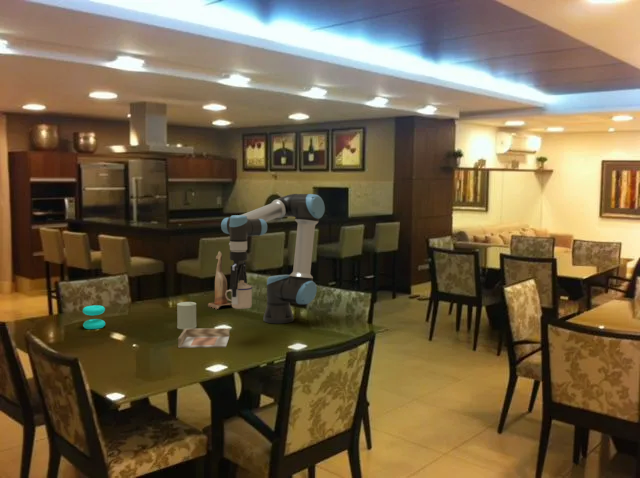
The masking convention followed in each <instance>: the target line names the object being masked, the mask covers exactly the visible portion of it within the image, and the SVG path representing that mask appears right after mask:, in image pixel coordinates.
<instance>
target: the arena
mask: <svg viewBox="0 0 640 478" xmlns="http://www.w3.org/2000/svg"><path fill="white" fill-rule="evenodd" d="M229 339H230V328H226V327H225V328H224V327H223V328H221V327H220V328H216V327H215V328H194V329H182V332H181V333H180V335H179V336H178V338H177V340H178V341H177V344H178V345H177V346H178V347H177V348H180V349H181V348H185V349H188V348H189V349H190V348H195V349H196V348H227V345H228V342H229Z"/></svg>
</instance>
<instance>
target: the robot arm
mask: <svg viewBox="0 0 640 478" xmlns="http://www.w3.org/2000/svg"><path fill="white" fill-rule="evenodd" d="M325 211H326V207H325V203H324V200H323V198H322V197H321V196H320V195H318V194H314V193H313V194H312V193H291V194H287V195H285V196H281V197H279V198H276V199H274V200H273V201H271V203H269V204H266V205H264V206H261V207H257V208H256V209H253V210H251V211H248V212H245V213H242V214H239V215H238V214H237V215H236V214H235V215H231V216H230V217H224V218H223V219H222V220H221V224H220V227H221V228H220V229H221V231H222V232H223V233H224V234H227V235H229V243H228V246H229V250H230V252H229V260H230V261H232V262H233V264H232V265H230V278H229V289H228V290H232V291H231V299H232V301H231V303H232V304H236V305H238V289H237V287H238V283H240V282H239V281H240V280H244V283H247V284H248V280H247V262H246V261H247V260H248V252H247V250H248V237H257V236H258V237H260V236H264V235H265V234H266V233H267V231H268V224H267V222H269V221H272V220H274V219H282V218H287V217H289V218H290V217H291V218H292V217H294V221H295V222H296V223H297V228H296V238H295V246H294V247H295V248H294V258H293V259H294V260H293V269H292V272H291V273H290V274H278V275H271V276H269V277H267V280H266V307H265V311H264V314H263V322H265V323H268V324H288V323H292V322H294V314H293V310H292V308H291V303H293V304H298V305H308V304H310V303H311V302H313V300H315V298H316V296H317V289H318V288H317V284H316V282H314V280H313V279H314V277H313V275H312V274H311V269H312V259H313V249H314V239H315V229H316V225H317V224H318V223H319V221H320V219H321V218H322V217H323V216H324V214H325Z"/></svg>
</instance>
